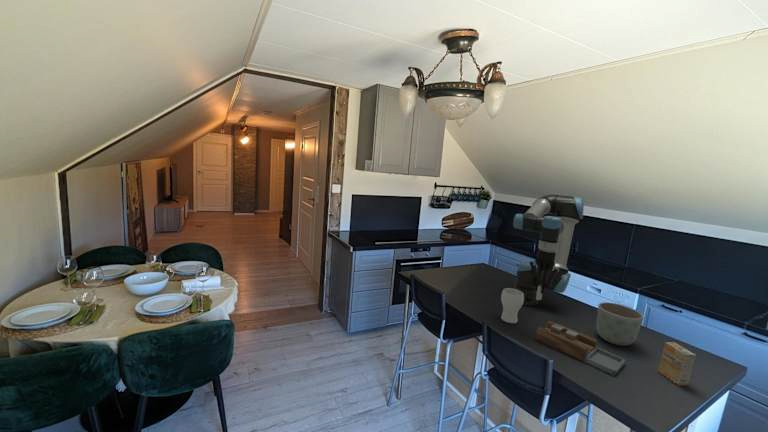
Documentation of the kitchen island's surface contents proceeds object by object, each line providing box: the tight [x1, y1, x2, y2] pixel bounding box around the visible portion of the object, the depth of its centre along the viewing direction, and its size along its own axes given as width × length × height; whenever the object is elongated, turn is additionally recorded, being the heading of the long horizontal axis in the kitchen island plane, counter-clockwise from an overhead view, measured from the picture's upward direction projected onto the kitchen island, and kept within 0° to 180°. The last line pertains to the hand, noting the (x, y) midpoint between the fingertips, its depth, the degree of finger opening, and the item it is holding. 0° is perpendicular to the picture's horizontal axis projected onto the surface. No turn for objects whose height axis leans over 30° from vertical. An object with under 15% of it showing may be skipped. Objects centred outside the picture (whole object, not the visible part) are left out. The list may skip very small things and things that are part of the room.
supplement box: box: [657, 341, 697, 386], centre depth 125 cm, size 8×5×13 cm, turn 5°
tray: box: [583, 346, 627, 377], centre depth 133 cm, size 14×11×2 cm
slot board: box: [535, 320, 598, 363], centre depth 144 cm, size 13×20×6 cm, turn 40°
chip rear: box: [551, 323, 565, 336], centre depth 146 cm, size 4×4×4 cm
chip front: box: [565, 329, 580, 342], centre depth 142 cm, size 4×4×4 cm
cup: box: [500, 287, 524, 324], centre depth 164 cm, size 11×11×15 cm
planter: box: [595, 301, 644, 347], centre depth 151 cm, size 17×17×15 cm
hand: (538, 299), depth 152 cm, fingers closed
